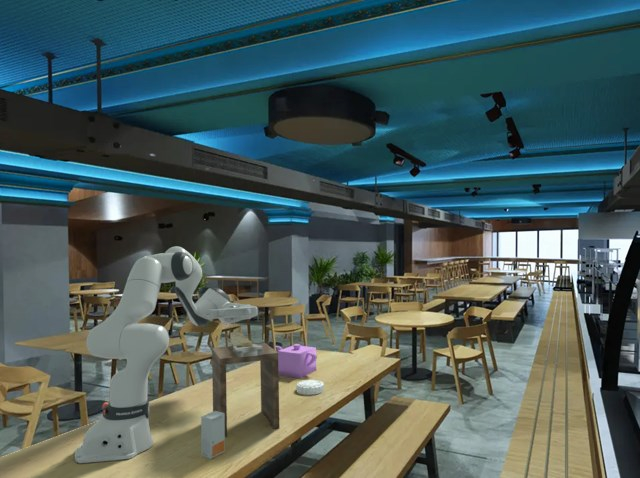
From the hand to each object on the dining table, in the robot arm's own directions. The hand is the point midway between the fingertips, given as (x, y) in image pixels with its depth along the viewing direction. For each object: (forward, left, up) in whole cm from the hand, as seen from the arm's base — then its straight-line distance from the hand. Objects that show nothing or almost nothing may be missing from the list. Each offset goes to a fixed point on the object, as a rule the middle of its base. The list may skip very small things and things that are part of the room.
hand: (236, 312), depth 187 cm
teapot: (+35, +33, -37) cm, 61 cm away
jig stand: (-2, -23, -36) cm, 43 cm away
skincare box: (-16, -43, -37) cm, 59 cm away
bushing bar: (-2, -17, -10) cm, 20 cm away
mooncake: (+32, +3, -37) cm, 49 cm away
